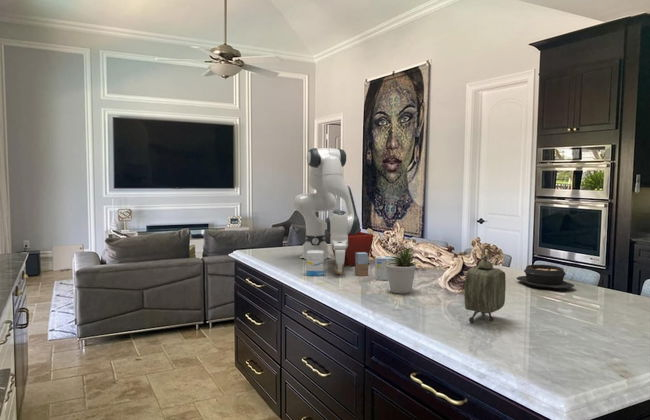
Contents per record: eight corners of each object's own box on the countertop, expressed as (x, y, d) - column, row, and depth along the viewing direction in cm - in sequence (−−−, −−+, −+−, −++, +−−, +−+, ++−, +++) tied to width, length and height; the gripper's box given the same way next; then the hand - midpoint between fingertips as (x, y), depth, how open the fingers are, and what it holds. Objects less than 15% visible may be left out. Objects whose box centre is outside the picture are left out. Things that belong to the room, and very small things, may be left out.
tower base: (355, 273, 241) (355, 262, 241) (366, 273, 241) (366, 261, 241) (356, 276, 235) (356, 264, 235) (368, 276, 235) (368, 264, 235)
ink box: (323, 276, 236) (323, 252, 235) (306, 276, 236) (306, 252, 235) (324, 272, 244) (324, 250, 243) (307, 272, 244) (307, 250, 243)
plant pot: (328, 262, 274) (328, 232, 272) (357, 259, 282) (357, 231, 280) (343, 267, 256) (343, 236, 255) (374, 264, 264) (374, 234, 263)
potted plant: (418, 295, 196) (419, 247, 195) (384, 294, 199) (385, 246, 197) (418, 288, 208) (419, 243, 207) (387, 287, 211) (387, 242, 210)
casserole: (506, 282, 219) (507, 264, 219) (533, 278, 228) (534, 261, 228) (556, 294, 197) (556, 274, 197) (583, 289, 206) (584, 270, 206)
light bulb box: (397, 277, 231) (397, 255, 230) (398, 280, 225) (398, 258, 224) (375, 277, 232) (375, 255, 231) (375, 280, 226) (375, 257, 225)
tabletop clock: (480, 313, 172) (481, 244, 170) (505, 317, 166) (507, 246, 164) (463, 322, 160) (465, 249, 159) (490, 328, 155) (492, 251, 153)
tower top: (355, 262, 240) (355, 252, 239) (365, 262, 241) (365, 252, 240) (358, 264, 235) (358, 254, 234) (367, 263, 236) (367, 253, 235)
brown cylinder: (334, 272, 243) (334, 263, 243) (343, 272, 243) (343, 263, 243) (335, 274, 239) (335, 264, 238) (343, 274, 239) (343, 264, 238)
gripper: (332, 240, 250) (332, 266, 251) (333, 246, 230) (333, 274, 231) (344, 240, 250) (344, 266, 251) (346, 245, 230) (346, 274, 231)
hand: (339, 270), depth 241 cm, fingers open, 8 cm apart
